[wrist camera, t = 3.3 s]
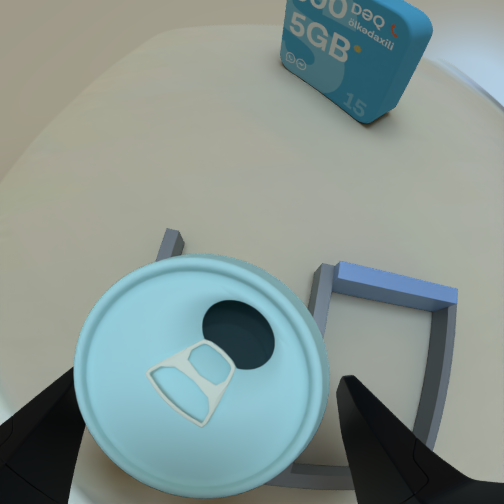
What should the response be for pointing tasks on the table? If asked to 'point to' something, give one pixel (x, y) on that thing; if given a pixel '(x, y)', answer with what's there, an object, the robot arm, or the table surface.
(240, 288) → the can
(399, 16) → the data package
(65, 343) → the table surface
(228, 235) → the table surface
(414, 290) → the grey flat frame
